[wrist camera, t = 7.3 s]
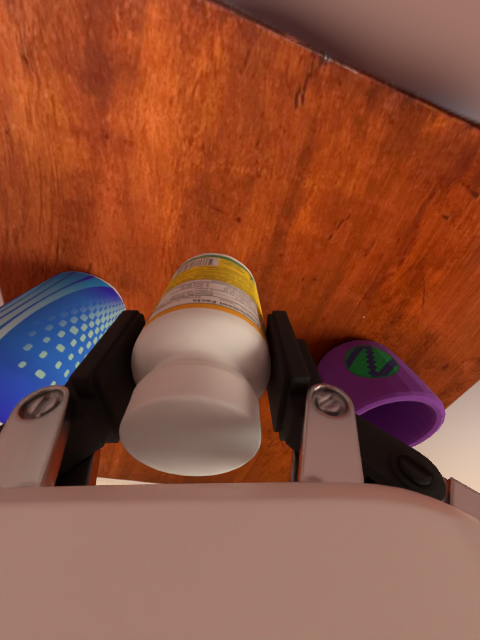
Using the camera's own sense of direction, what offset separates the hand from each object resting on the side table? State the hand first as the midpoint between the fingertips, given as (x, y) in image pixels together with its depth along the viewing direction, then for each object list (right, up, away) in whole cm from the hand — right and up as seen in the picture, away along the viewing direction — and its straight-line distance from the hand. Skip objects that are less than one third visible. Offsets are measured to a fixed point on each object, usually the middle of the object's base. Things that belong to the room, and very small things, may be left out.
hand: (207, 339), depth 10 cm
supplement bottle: (0, +3, +4) cm, 5 cm away
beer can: (-15, +3, +16) cm, 23 cm away
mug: (+14, -6, +23) cm, 28 cm away
